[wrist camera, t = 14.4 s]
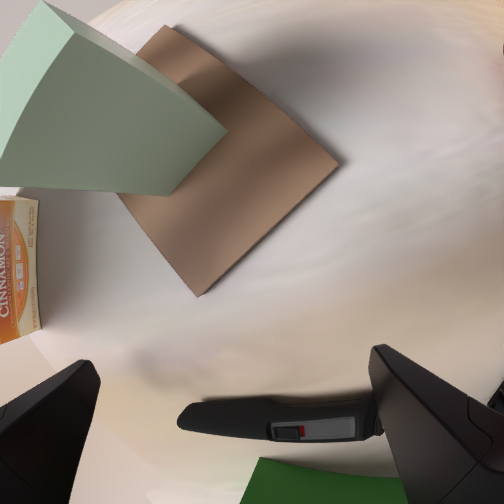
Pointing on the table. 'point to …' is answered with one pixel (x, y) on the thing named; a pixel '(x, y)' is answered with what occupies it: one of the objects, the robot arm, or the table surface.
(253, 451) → the table surface
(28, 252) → the coffeecake box
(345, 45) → the table surface
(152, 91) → the mint green prism
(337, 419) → the electric trimmer
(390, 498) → the hardback book
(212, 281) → the brown board
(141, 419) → the table surface
